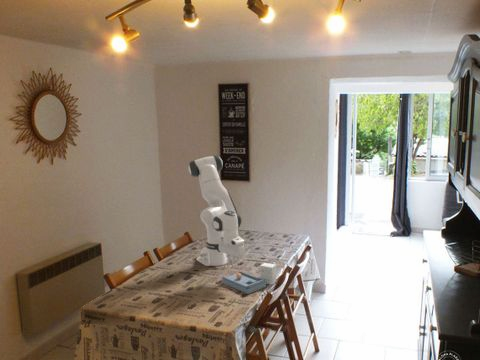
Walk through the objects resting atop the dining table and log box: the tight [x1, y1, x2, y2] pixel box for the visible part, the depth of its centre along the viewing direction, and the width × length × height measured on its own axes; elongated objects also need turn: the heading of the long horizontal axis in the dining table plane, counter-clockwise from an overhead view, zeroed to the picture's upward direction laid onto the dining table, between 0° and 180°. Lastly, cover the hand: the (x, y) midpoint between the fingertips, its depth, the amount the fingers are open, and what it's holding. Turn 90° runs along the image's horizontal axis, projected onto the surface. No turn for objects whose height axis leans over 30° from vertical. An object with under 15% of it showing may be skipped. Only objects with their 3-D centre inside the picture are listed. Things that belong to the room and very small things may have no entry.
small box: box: [259, 262, 278, 286], centre depth 246 cm, size 8×6×10 cm
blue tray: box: [221, 270, 267, 294], centre depth 243 cm, size 22×14×4 cm, turn 42°
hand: (231, 261), depth 249 cm, fingers closed
